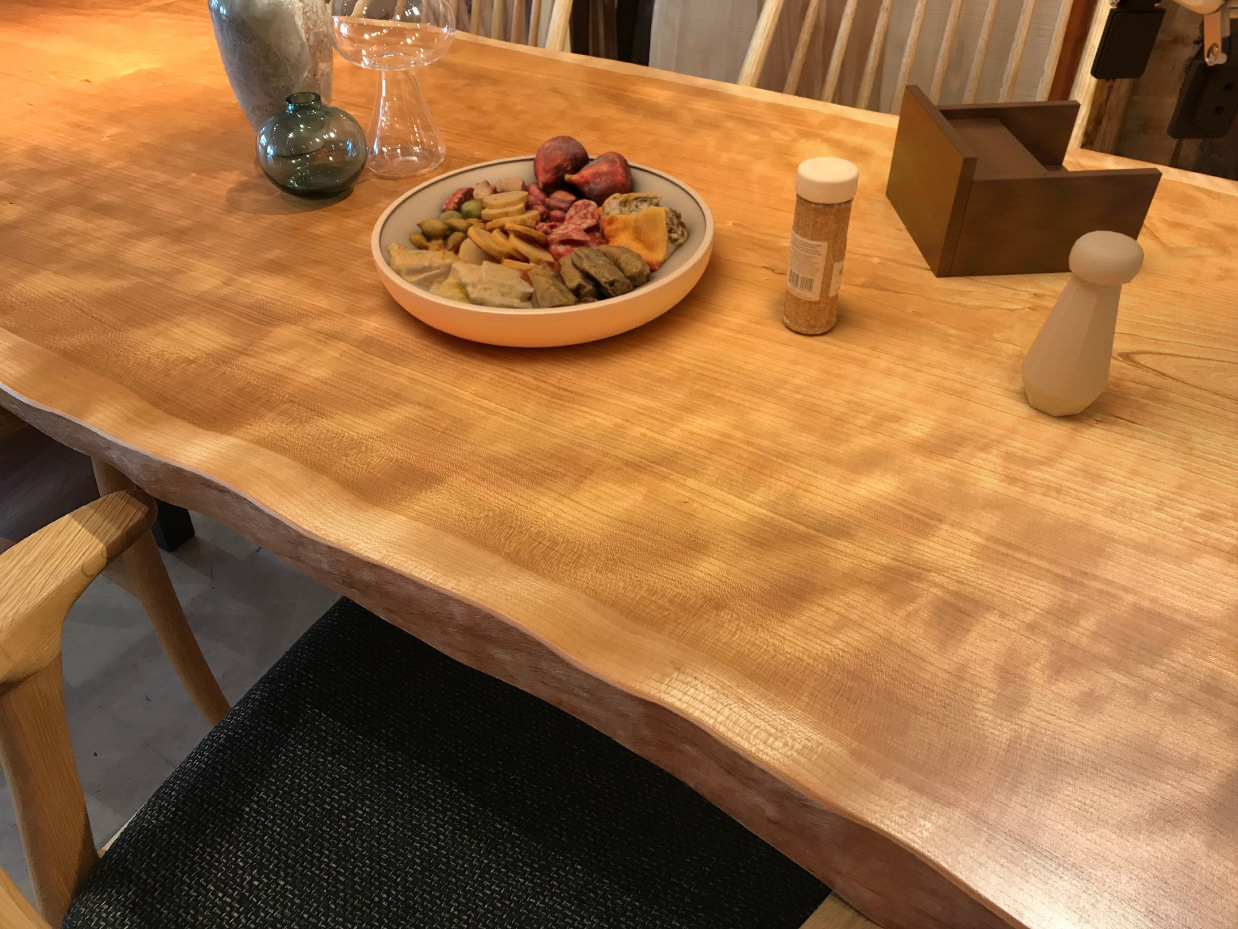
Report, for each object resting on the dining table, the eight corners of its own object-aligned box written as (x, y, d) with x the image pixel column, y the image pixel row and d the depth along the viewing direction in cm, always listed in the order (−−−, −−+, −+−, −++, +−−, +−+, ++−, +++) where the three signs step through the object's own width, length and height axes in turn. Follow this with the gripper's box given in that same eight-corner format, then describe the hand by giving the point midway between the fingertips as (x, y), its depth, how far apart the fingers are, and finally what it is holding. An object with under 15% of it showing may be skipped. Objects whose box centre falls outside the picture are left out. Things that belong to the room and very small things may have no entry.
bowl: (714, 371, 71) (719, 282, 66) (339, 363, 73) (316, 276, 68) (709, 201, 94) (713, 125, 89) (423, 198, 96) (410, 124, 90)
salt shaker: (1102, 391, 68) (1168, 232, 60) (1089, 433, 65) (1156, 270, 56) (1022, 369, 71) (1073, 213, 62) (1004, 408, 67) (1057, 248, 58)
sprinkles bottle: (846, 327, 76) (872, 171, 67) (800, 342, 74) (821, 184, 65) (814, 302, 79) (835, 149, 70) (769, 315, 77) (785, 161, 68)
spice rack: (1049, 187, 95) (1082, 78, 87) (1125, 269, 82) (1172, 149, 75) (885, 193, 94) (905, 84, 87) (935, 277, 81) (964, 157, 74)
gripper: (1513, -258, 36) (1303, 163, 47) (1263, -276, 49) (1145, 57, 60) (1327, -255, 36) (1161, 166, 47) (1125, -274, 49) (1033, 59, 60)
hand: (1152, 104), depth 54 cm, fingers open, 9 cm apart
